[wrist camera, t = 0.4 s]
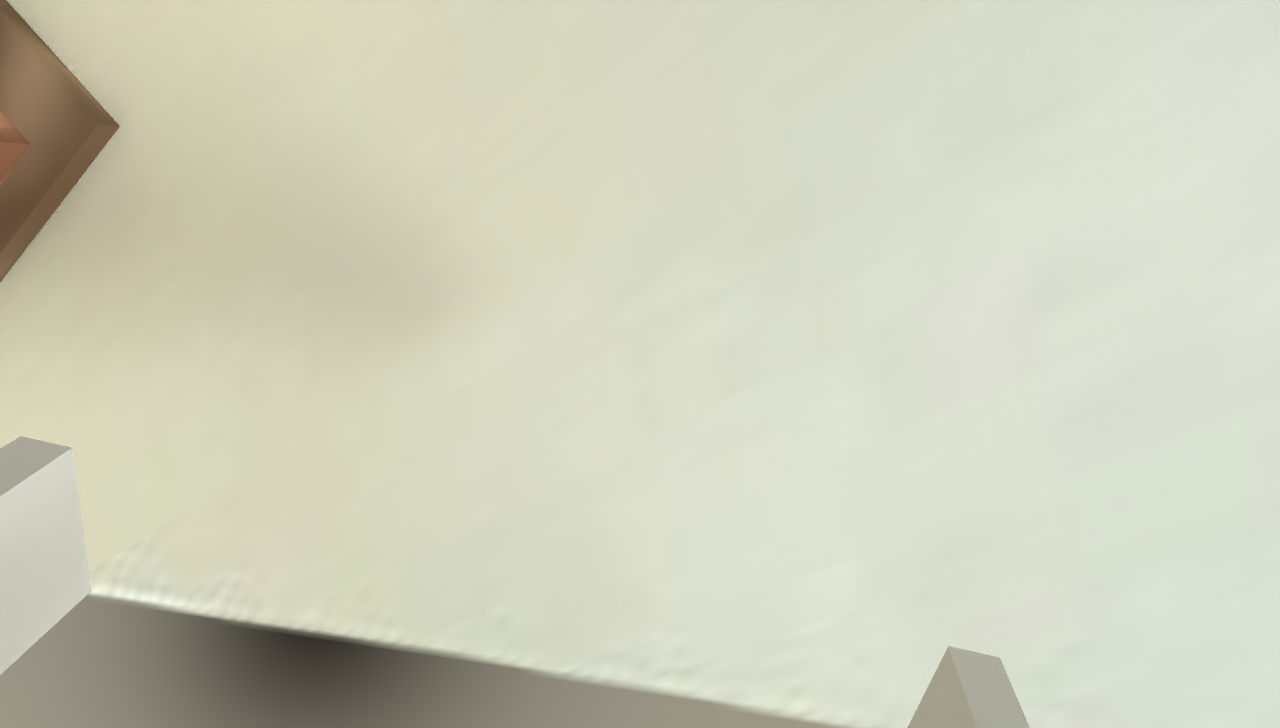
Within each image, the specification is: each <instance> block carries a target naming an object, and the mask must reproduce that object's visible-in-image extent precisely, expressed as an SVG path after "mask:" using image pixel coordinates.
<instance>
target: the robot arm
mask: <svg viewBox="0 0 1280 728" xmlns="http://www.w3.org/2000/svg"><path fill="white" fill-rule="evenodd" d="M90 591H91V588H90V580H89V573H88V565H87V558H86V550H85V543H84V535H83V528H82V520H81V513H80V505H79V498H78V490H77V483H76V475H75V468H74V460H73V453H72V448H70V447H66V446H62V445H57V444H53V443H48V442H44V441H40V440H35V439H31V438H26V437H22V436H21V437H19V438H17V439H16V440H14V441H12V442H11V443H9V444H7V445H6V446H4V447H3V448H1V449H0V675H1V674H2V673H3V672H4V671H5V670H6V669H7V668H8V667H9V666H10V665H12V664H13V663H14V662H15V661H16V660H17V659H18V658H19V657H20V656H21V655H22V654H23V653H24V652H26V651H27V650H28V649H29V648H30V647H31V646H32V645H33V644H34V643H35V642H36V641H37V640H39V639H40V638H41V637H42V636H43V635H44V634H45V633H46V632H47V631H48V630H49V629H50V628H51V627H53V626H54V625H55V624H56V623H57V622H58V621H59V620H60V619H61V618H62V617H63V616H64V615H66V614H67V613H68V612H69V611H70V610H71V609H72V608H73V607H74V606H75V605H76V604H77V603H78V602H80V601H81V600H82V599H83V598H84V597H85V596H86V595H87V594H88V593H89V592H90ZM908 728H1029V725H1028V723H1027V721H1026V718H1025V716H1024V714H1023V711H1022V709H1021V706H1020V704H1019V702H1018V699H1017V697H1016V695H1015V692H1014V690H1013V688H1012V685H1011V683H1010V681H1009V678H1008V676H1007V673H1006V671H1005V669H1004V666H1003V664H1002V662H1001V659H1000V658H998V657H994V656H990V655H985V654H981V653H976V652H972V651H967V650H963V649H959V648H954V647H950V646H948V648H947V650H946V652H945V654H944V656H943V658H942V660H941V662H940V664H939V666H938V668H937V670H936V672H935V674H934V676H933V678H932V680H931V682H930V684H929V686H928V688H927V690H926V692H925V694H924V696H923V698H922V700H921V702H920V704H919V706H918V708H917V710H916V712H915V714H914V716H913V718H912V720H911V722H910V724H909V726H908Z"/></svg>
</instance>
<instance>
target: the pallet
mask: <svg viewBox="0 0 1280 728" xmlns="http://www.w3.org/2000/svg"><path fill="white" fill-rule="evenodd" d="M118 128H119V125H118V124H117V123H116V122H115V121H114V120H113V119H112V117H111V116H110V115H109V114H108V113H107V112H106V111H105V110H104V109H103V107H102V106H101V105H100V104H99V103H98V102H97V101H96V100H95V99H94V97H93V96H92V95H91V94H90V93H89V92H88V91H87V90H86V89H85V87H84V86H83V85H82V84H81V83H80V82H79V81H78V80H77V79H76V77H75V76H74V75H73V74H72V73H71V72H70V71H69V70H68V69H67V67H66V66H65V65H64V64H63V63H62V62H61V61H60V60H59V59H58V57H57V56H56V55H55V54H54V53H53V52H52V51H51V50H50V49H49V47H48V46H47V45H46V44H45V43H44V42H43V41H42V40H41V39H40V37H39V36H38V35H37V34H36V33H35V32H34V31H33V30H32V29H31V27H30V26H29V25H28V24H27V23H26V22H25V21H24V20H23V19H22V18H21V16H20V15H19V14H18V13H17V12H16V11H15V10H14V9H13V8H12V6H11V5H10V4H9V3H8V2H7V1H6V0H0V282H1V280H2V279H3V278H4V276H5V275H6V274H7V273H8V271H9V270H10V269H11V267H12V266H13V265H14V263H15V262H16V261H17V259H18V258H19V257H20V256H21V254H22V253H23V252H24V250H25V249H26V248H27V246H28V245H29V244H30V242H31V241H32V240H33V239H34V237H35V236H36V235H37V233H38V232H39V231H40V229H41V228H42V227H43V225H44V224H45V223H46V222H47V220H48V219H49V218H50V216H51V215H52V214H53V212H54V211H55V210H56V209H57V207H58V206H59V205H60V203H61V202H62V201H63V199H64V198H65V197H66V195H67V194H68V193H69V192H70V190H71V189H72V188H73V186H74V185H75V184H76V182H77V181H78V180H79V178H80V177H81V176H82V175H83V173H84V172H85V171H86V169H87V168H88V167H89V165H90V164H91V163H92V161H93V160H94V159H95V158H96V156H97V155H98V154H99V152H100V151H101V150H102V148H103V147H104V146H105V144H106V143H107V142H108V141H109V139H110V138H111V137H112V135H113V134H114V133H115V131H116V130H117V129H118Z"/></svg>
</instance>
